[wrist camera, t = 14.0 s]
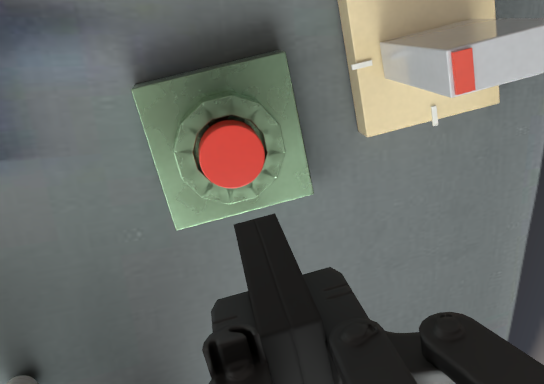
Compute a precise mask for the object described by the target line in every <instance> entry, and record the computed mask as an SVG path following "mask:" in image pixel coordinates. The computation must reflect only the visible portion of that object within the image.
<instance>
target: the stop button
mask: <svg viewBox="0 0 544 384" xmlns="http://www.w3.org/2000/svg"><path fill="white" fill-rule="evenodd" d="M264 161H265V152H264V147H263V144H262V142H261V140H260V139H259V137H258V135H257V134H256V132H255V131H254V130H253V129H252V128H251V127H250V126H249V125H247V124H245V123H243V122H241V121H237V120H223V121H220V122H217V123H215V124H213V125H212V126H210V127H209V128H208V129H207V130H206V131H205V133H204V134H203V136H202V138H201V140H200V143H199V162H200V166H201V169H202V171H203V173H204V174H205V176H206V177H207V178H208V179H209V180H210V181H211V182H212V183H214V184H216V185H218V186H220V187H224V188H239V187H243V186H245V185H247V184H249V183H251V182H252V181H253V180H254V179H255V178H256V177H257V176H258V175H259V174H260V172H261V170H262V168H263V165H264Z"/></svg>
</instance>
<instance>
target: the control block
mask: <svg viewBox="0 0 544 384" xmlns="http://www.w3.org/2000/svg"><path fill="white" fill-rule="evenodd" d="M131 91H132V94H133V97H134V100H135V104H136V107H137V110H138V113H139V116H140V119H141V122H142V125H143V129H144V132H145V135H146V138H147V141H148V144H149V147H150V150H151V154H152V157H153V160H154V163H155V166H156V169H157V172H158V175H159V179H160V182H161V185H162V188H163V191H164V194H165V197H166V200H167V203H168V207H169V210H170V213H171V216H172V219H173V222H174V225H175V228H176V230H181V229H184V228H188V227H192V226H196V225H199V224H203V223H207V222H211V221H214V220H218V219H222V218H226V217H229V216H233V215H237V214H241V213H244V212H248V211H252V210H256V209H259V208H263V207H267V206H271V205H274V204H278V203H282V202H286V201H289V200H293V199H297V198H301V197H304V196H308V195H312V194H314V192H313V187H312V182H311V177H310V172H309V167H308V162H307V157H306V152H305V147H304V142H303V137H302V132H301V127H300V122H299V117H298V112H297V108H296V103H295V98H294V93H293V88H292V83H291V78H290V73H289V68H288V63H287V58H286V53H285V52H284V51H281V50H277V51H273V52H268V53H264V54H260V55H256V56H252V57H248V58H244V59H240V60H235V61H231V62H227V63H223V64H219V65H215V66H211V67H207V68H202V69H198V70H194V71H190V72H186V73H182V74H178V75H173V76H169V77H165V78H161V79H157V80H153V81H149V82H145V83H140V84H136V85H134V87H133V88H132V89H131ZM223 120H237V121H241V122H243V123H245V124H247V125H249V126H250V127H251V128H252V129H253V130H254V131H255V132H256V134H257V135H258V137H259V139H260V140H261V142H262V144H263V147H264V152H265V161H264V165H263V168H262V170H261V172H260V174H259V175H258V176H257V177H256V178H255V179H254V180H253V181H252V182H251V183H249V184H247V185H245V186H243V187H239V188H224V187H220V186H218V185H216V184H214V183H212V182H211V181H210V180H209V179H208V178H207V177H206V176H205V174H204V173H203V171H202V169H201V166H200V162H199V143H200V140H201V138H202V136H203V134H204V133H205V131H206V130H207V129H208V128H209V127H210V126H212V125H213V124H215V123H217V122H220V121H223Z"/></svg>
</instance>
